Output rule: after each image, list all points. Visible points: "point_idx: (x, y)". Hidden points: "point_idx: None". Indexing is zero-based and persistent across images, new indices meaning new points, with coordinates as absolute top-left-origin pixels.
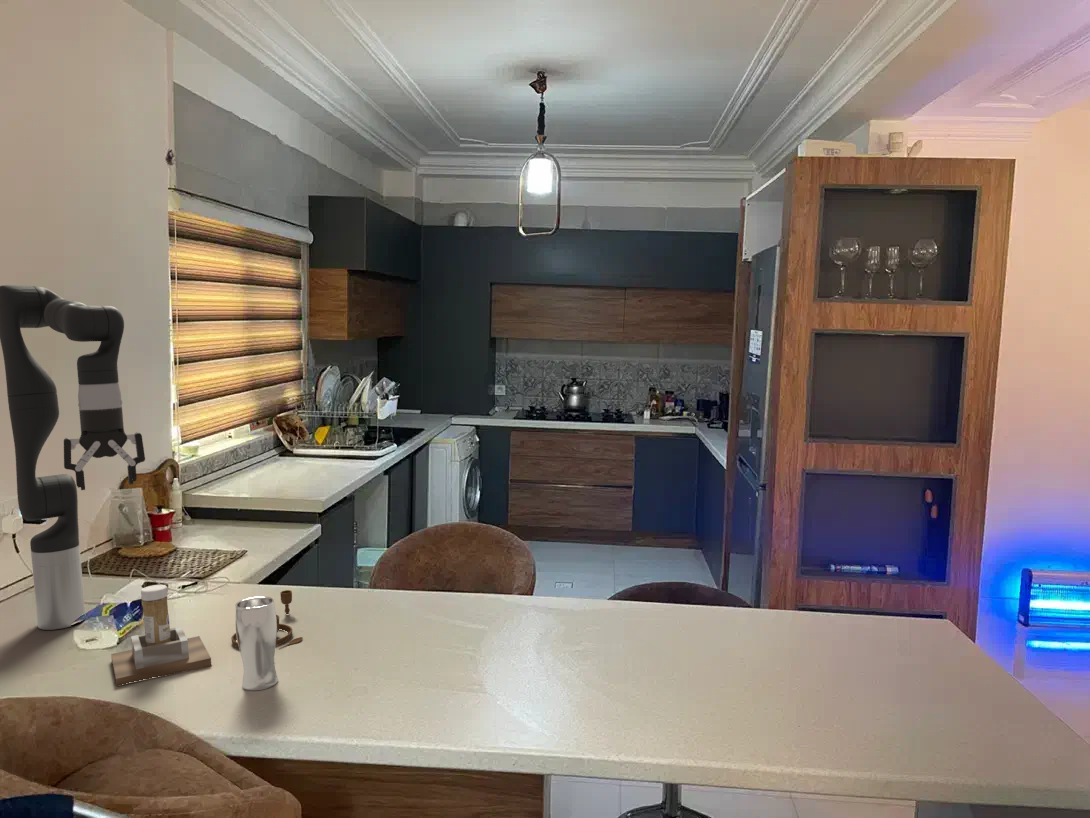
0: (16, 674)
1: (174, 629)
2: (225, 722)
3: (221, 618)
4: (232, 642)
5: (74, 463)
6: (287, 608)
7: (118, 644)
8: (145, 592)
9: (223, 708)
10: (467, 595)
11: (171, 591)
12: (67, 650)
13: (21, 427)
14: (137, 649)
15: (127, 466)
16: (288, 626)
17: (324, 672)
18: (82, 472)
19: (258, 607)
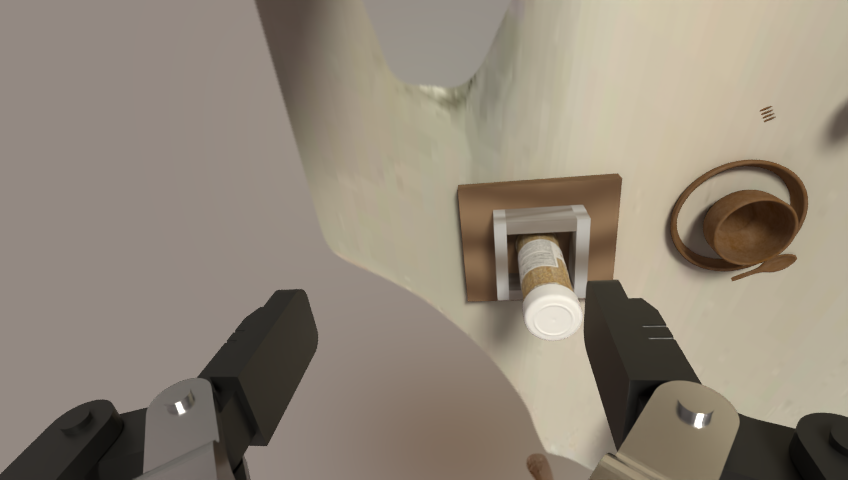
0: (311, 161)
1: (575, 229)
2: (579, 443)
3: (712, 13)
4: (671, 223)
5: (136, 458)
6: None
7: (468, 88)
8: (532, 333)
9: (586, 416)
10: None
11: None
12: (372, 71)
13: None
14: (501, 295)
15: (626, 383)
16: (804, 206)
17: (743, 392)
18: (261, 438)
19: None
